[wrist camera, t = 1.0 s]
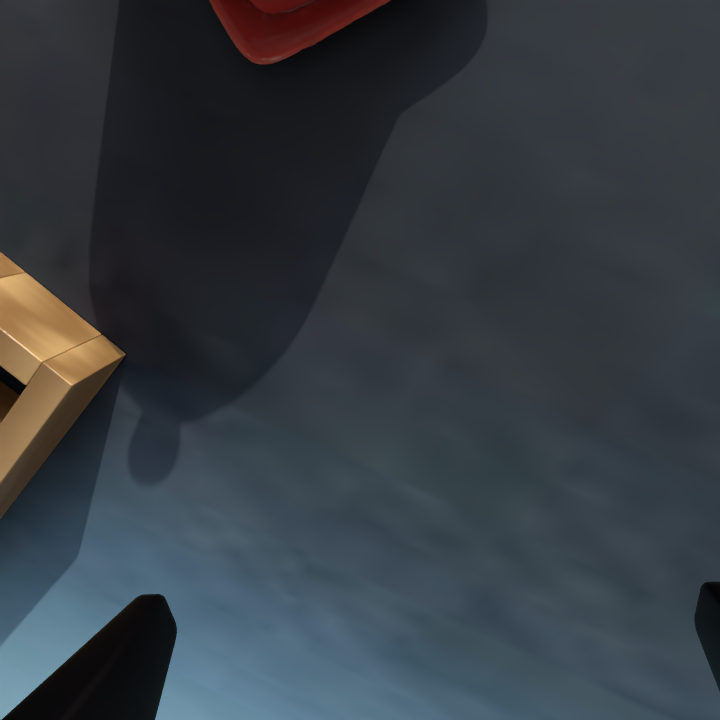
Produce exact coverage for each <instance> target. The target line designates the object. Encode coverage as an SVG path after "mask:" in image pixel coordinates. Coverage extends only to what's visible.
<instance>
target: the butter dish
mask: <svg viewBox="0 0 720 720" xmlns="http://www.w3.org/2000/svg"><path fill="white" fill-rule="evenodd" d="M209 1H210V3H211V5H212V7H213V9H214V11H215V13H216V14H217V16H218V18H219V20H220V21H221V23H222V25H223V27H224V28H225V30H226V32H227V34H228V35H229V36H230V38H231V39H232V42H233V43H234V44H235V46H236V47H237V48H238V50H239V51H240V52H241V53H242V54H243V55H244V57H246V58H247V59H249V60H250V61H251V62H253V63H256V64H272V63H275V62H278V61H281V60H283V59H286V58H288V57H290V56H292V55H294V54H296V53H298V52H299V51H300V50H301V49H304V48H307V47H311V46H313V45H315V44H316V43H317V42H319V41H321V40H323V39H324V38H326V37H327V36H329V35H331V34H333V33H334V32H336V31H338V30H340V29H342V28H343V27H345V26H347V25H349V24H350V23H352V22H353V21H355V20H357V19H359V18H361V17H362V16H364V15H366V14H368V13H370V12H372V11H373V10H375V9H376V8H378V7H380V6H382V5H384V4H386V3H387V2H389V1H391V0H209Z"/></svg>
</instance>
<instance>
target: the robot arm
mask: <svg viewBox="0 0 720 720" xmlns="http://www.w3.org/2000/svg"><path fill="white" fill-rule="evenodd" d="M695 627H696V631H697V634H698V637H699V639H700V642H701V644H702V647H703V650H704V652H705V655H706V657H707V660H708V662H709V665H710V668H711V670H712V673H713V675H714V678H715V681H716V683H717V686H718V688H719V691H720V582H706V583H704V584H703V585H702V586H701V589H700V594H699V598H698V603H697V607H696V612H695ZM176 634H177V627H176V623H175V620H174V618H173V615H172V613H171V611H170V608H169V606H168V604H167V601H166V599H165V597H164V596H162V595H160V594H147V595H141V596H138V597H137V598H135V599H134V600H133V601H132V602H131V603H130V604H129V605H128V606H126V607H125V608H124V609H123V610H122V611H121V612H120V613H119V614H118V615H117V616H115V617H114V618H113V619H112V620H111V621H110V622H109V623H108V624H107V625H106V626H104V627H103V628H102V629H101V630H100V631H99V632H98V633H97V634H96V635H95V636H93V637H92V638H91V639H90V640H89V641H88V642H87V643H86V644H85V645H83V646H82V647H81V648H80V649H79V650H78V651H77V652H76V653H75V654H74V655H72V656H71V657H70V658H69V659H68V660H67V661H66V662H65V663H64V664H63V665H61V666H60V667H59V668H58V669H57V670H56V671H55V672H54V673H53V674H52V675H50V676H49V677H48V678H47V679H46V680H45V681H44V682H43V683H42V684H40V685H39V686H38V687H37V688H36V689H35V690H34V691H33V692H32V693H31V694H29V695H28V696H27V697H26V698H25V699H24V700H23V701H22V702H21V703H20V704H18V705H17V706H16V707H15V708H14V709H13V710H12V711H11V712H10V713H8V714H7V715H6V716H5V717H4V718H3V719H2V720H155V718H156V714H157V710H158V706H159V702H160V698H161V695H162V691H163V687H164V683H165V679H166V675H167V671H168V667H169V664H170V660H171V656H172V652H173V648H174V644H175V640H176Z"/></svg>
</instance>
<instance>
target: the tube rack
mask: <svg viewBox="0 0 720 720" xmlns="http://www.w3.org/2000/svg"><path fill="white" fill-rule="evenodd" d="M125 356H126V354H125V353H124V352H123V351H122V350H120V349H119V348H118V347H117V346H115V345H114V344H113V343H112V342H111V341H109V340H108V339H107V338H106V337H104V336H103V335H101V333H99V332H98V331H97V330H96V329H95V328H93V327H92V326H91V325H90V324H88V323H87V322H86V321H85V320H84V319H82V318H81V317H80V316H79V315H77V314H76V313H75V312H74V311H72V310H71V309H70V308H69V307H68V306H66V305H65V304H64V303H63V302H61V301H60V300H59V299H58V298H57V297H55V296H54V295H53V294H52V293H50V292H49V291H48V290H47V289H46V288H44V287H43V286H42V285H41V284H39V283H38V282H37V281H36V280H34V279H33V278H32V277H31V276H30V275H28V274H27V273H25V272H24V271H23V270H22V269H21V268H20V267H18V266H17V265H16V264H15V263H13V262H12V261H11V260H10V259H9V258H7V257H6V256H5V255H4V254H2V253H1V252H0V366H1V367H3V368H4V369H5V370H7V371H8V372H9V373H10V374H12V375H13V376H14V377H16V378H17V379H18V380H19V381H21V382H22V383H23V384H25V385H27V386H26V388H25V389H24V391H23V392H22V394H21V395H19V394H17V393H16V392H15V391H14V390H12V389H11V388H10V387H8V386H7V385H6V384H4V383H3V382H2V381H1V380H0V519H1V518H2V517H3V515H4V514H5V513H6V511H7V510H8V509H9V507H10V506H11V505H12V504H13V502H14V501H15V500H16V498H17V497H18V496H19V494H20V493H21V492H22V490H23V489H24V488H25V487H26V485H27V484H28V483H29V481H30V480H31V479H32V477H33V476H34V475H35V473H36V472H37V471H38V470H39V468H40V467H41V466H42V464H43V463H44V462H45V460H46V459H47V458H48V456H49V455H50V454H51V452H52V451H53V450H54V449H55V447H56V446H57V445H58V443H59V442H60V441H61V439H62V438H63V437H64V435H65V434H66V433H67V432H68V430H69V429H70V428H71V426H72V425H73V424H74V422H75V421H76V420H77V418H78V417H79V416H80V414H81V413H82V412H83V411H84V409H85V408H86V407H87V405H88V404H89V403H90V401H91V400H92V399H93V397H94V396H95V395H96V394H97V392H98V391H99V390H100V388H101V387H102V386H103V384H104V383H105V382H106V380H107V379H108V378H109V376H110V375H111V374H112V373H113V371H114V370H115V369H116V367H117V366H118V365H119V363H120V362H121V361H122V359H123V358H124V357H125Z"/></svg>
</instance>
